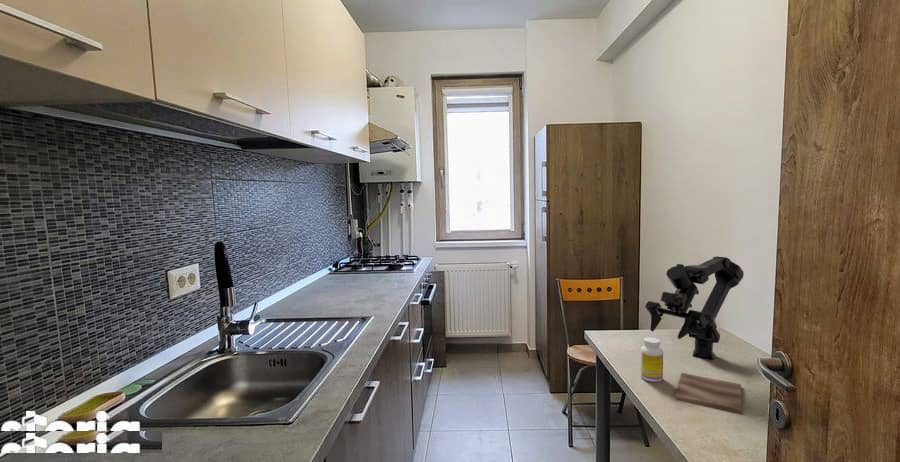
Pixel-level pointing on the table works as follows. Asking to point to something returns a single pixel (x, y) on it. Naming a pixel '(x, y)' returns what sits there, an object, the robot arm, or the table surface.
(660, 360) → the supplement bottle
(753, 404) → the table surface
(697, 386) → the walnut board
